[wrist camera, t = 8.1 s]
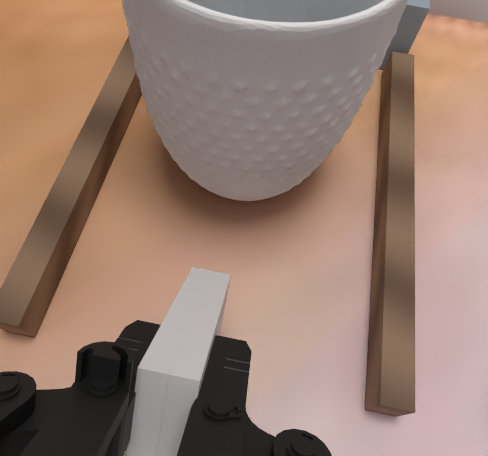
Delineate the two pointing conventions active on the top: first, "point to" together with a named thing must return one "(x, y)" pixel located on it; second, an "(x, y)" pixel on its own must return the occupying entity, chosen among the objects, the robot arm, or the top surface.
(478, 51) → the top surface
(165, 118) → the mug
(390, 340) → the channel
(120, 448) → the robot arm
